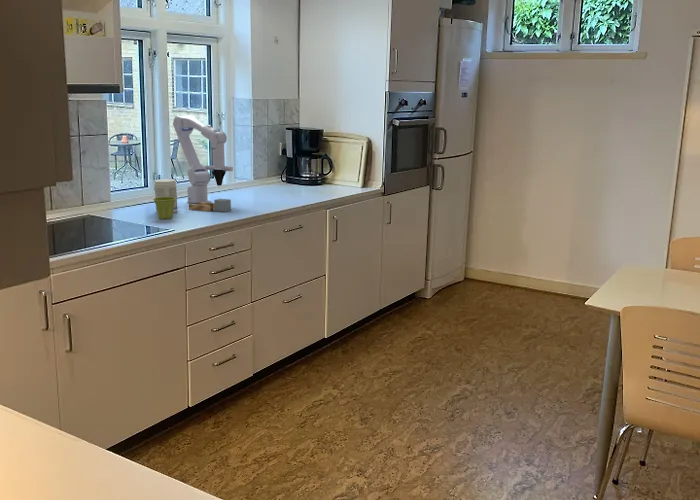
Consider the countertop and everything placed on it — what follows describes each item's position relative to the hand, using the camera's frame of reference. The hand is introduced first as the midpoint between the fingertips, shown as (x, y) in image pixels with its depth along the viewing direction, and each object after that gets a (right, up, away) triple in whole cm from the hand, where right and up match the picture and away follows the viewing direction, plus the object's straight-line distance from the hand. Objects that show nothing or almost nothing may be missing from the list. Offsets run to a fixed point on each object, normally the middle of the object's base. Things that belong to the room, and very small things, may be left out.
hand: (219, 185), depth 335 cm
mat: (+3, -13, -12) cm, 18 cm away
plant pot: (-18, -18, -32) cm, 40 cm away
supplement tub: (-21, -14, -17) cm, 30 cm away
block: (+4, -13, -12) cm, 18 cm away
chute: (-5, -12, -8) cm, 16 cm away
